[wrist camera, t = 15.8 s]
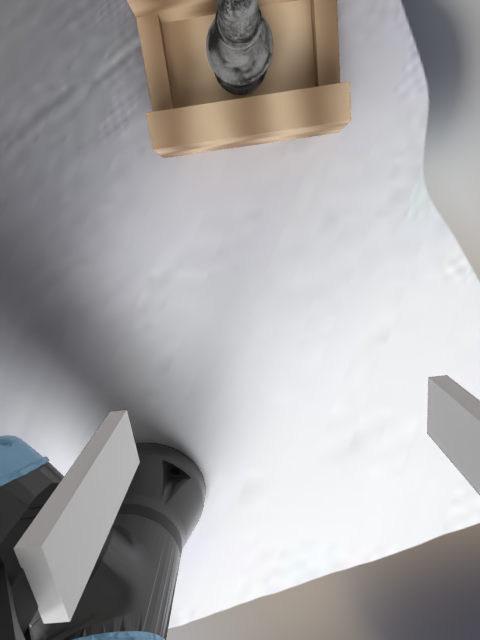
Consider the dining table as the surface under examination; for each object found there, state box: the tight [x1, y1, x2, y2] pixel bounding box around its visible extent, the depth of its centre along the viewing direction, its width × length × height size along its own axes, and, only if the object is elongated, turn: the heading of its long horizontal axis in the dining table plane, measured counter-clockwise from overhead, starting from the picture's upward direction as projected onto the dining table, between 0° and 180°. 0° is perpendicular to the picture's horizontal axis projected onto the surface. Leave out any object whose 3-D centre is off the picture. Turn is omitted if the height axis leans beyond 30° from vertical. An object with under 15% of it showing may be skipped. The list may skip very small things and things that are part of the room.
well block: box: [127, 0, 351, 158], centre depth 32 cm, size 18×14×6 cm
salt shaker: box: [206, 0, 273, 95], centre depth 28 cm, size 6×6×12 cm
